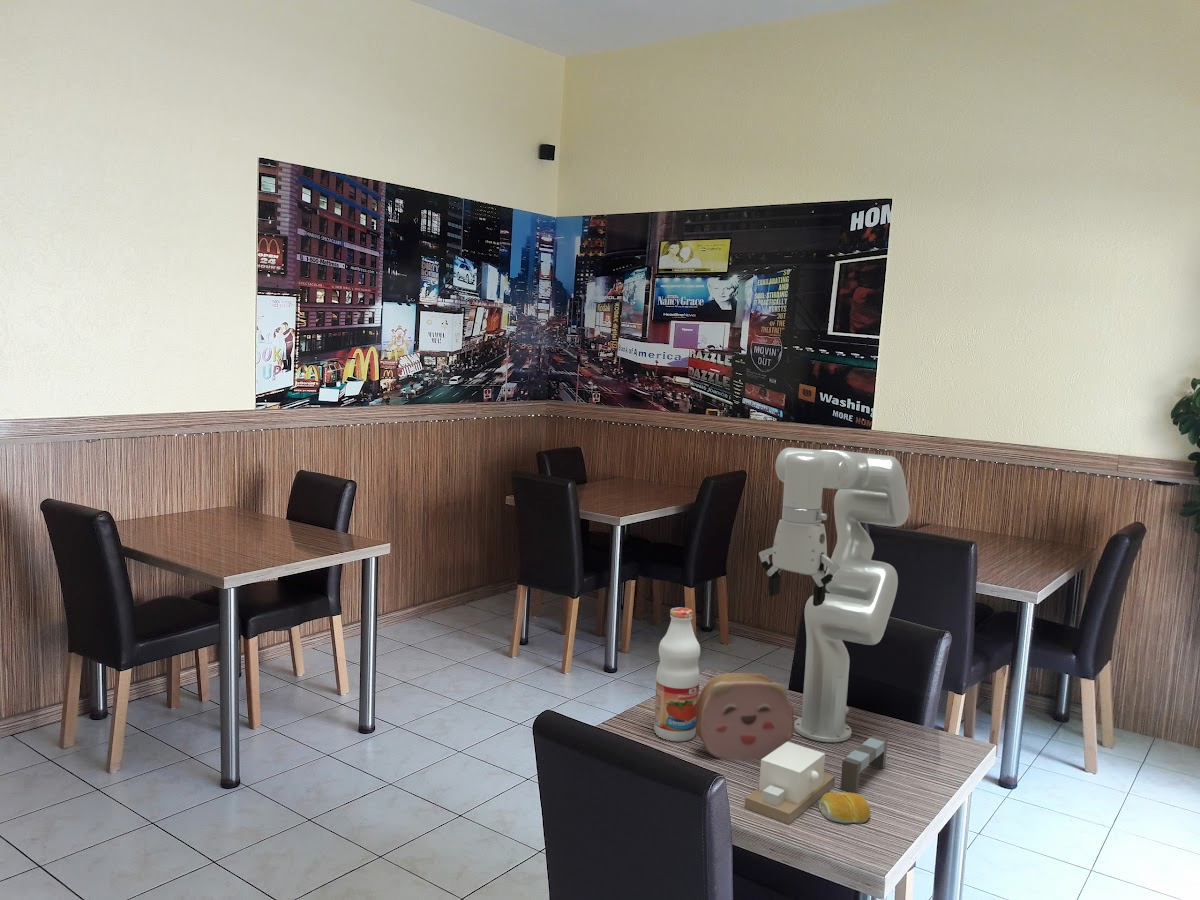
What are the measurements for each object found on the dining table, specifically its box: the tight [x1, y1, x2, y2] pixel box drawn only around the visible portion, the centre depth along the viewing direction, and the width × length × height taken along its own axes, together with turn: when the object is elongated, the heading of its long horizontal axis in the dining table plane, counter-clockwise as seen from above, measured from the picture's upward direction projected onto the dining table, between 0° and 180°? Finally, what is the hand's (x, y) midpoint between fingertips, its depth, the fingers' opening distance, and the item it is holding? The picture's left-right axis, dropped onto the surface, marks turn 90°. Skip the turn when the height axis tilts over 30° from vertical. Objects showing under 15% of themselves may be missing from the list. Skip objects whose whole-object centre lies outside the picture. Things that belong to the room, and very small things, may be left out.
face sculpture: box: [696, 672, 795, 761], centre depth 195 cm, size 20×7×17 cm, turn 96°
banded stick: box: [840, 734, 889, 794], centre depth 187 cm, size 16×3×6 cm, turn 142°
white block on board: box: [744, 741, 836, 825], centre depth 177 cm, size 20×10×8 cm, turn 142°
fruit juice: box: [653, 606, 701, 742], centre depth 203 cm, size 9×9×28 cm
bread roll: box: [818, 791, 871, 824], centre depth 172 cm, size 8×9×4 cm
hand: (795, 599), depth 186 cm, fingers open, 9 cm apart
